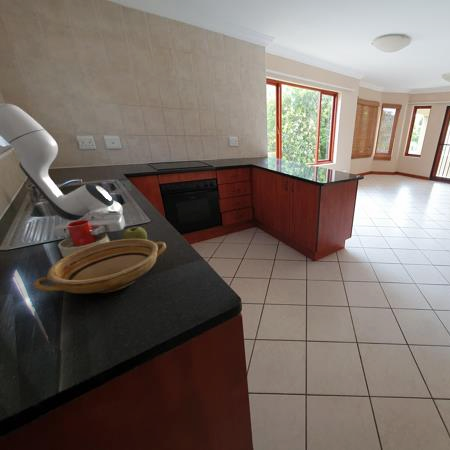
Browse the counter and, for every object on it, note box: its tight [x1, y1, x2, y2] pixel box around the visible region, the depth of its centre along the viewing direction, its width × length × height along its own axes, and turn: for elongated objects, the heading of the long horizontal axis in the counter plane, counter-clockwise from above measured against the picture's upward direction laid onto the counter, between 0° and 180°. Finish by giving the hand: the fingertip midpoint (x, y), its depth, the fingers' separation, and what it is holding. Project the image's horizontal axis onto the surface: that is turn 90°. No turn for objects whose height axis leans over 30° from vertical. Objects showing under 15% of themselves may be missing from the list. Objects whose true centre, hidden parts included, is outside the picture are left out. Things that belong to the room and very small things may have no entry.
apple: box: [121, 226, 148, 240], centre depth 87 cm, size 8×8×7 cm
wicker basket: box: [33, 238, 167, 295], centre depth 67 cm, size 30×24×8 cm
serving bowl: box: [57, 232, 111, 258], centre depth 84 cm, size 13×13×4 cm
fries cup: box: [66, 219, 97, 247], centre depth 83 cm, size 6×6×10 cm
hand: (80, 234), depth 82 cm, fingers closed on fries cup, 6 cm apart
